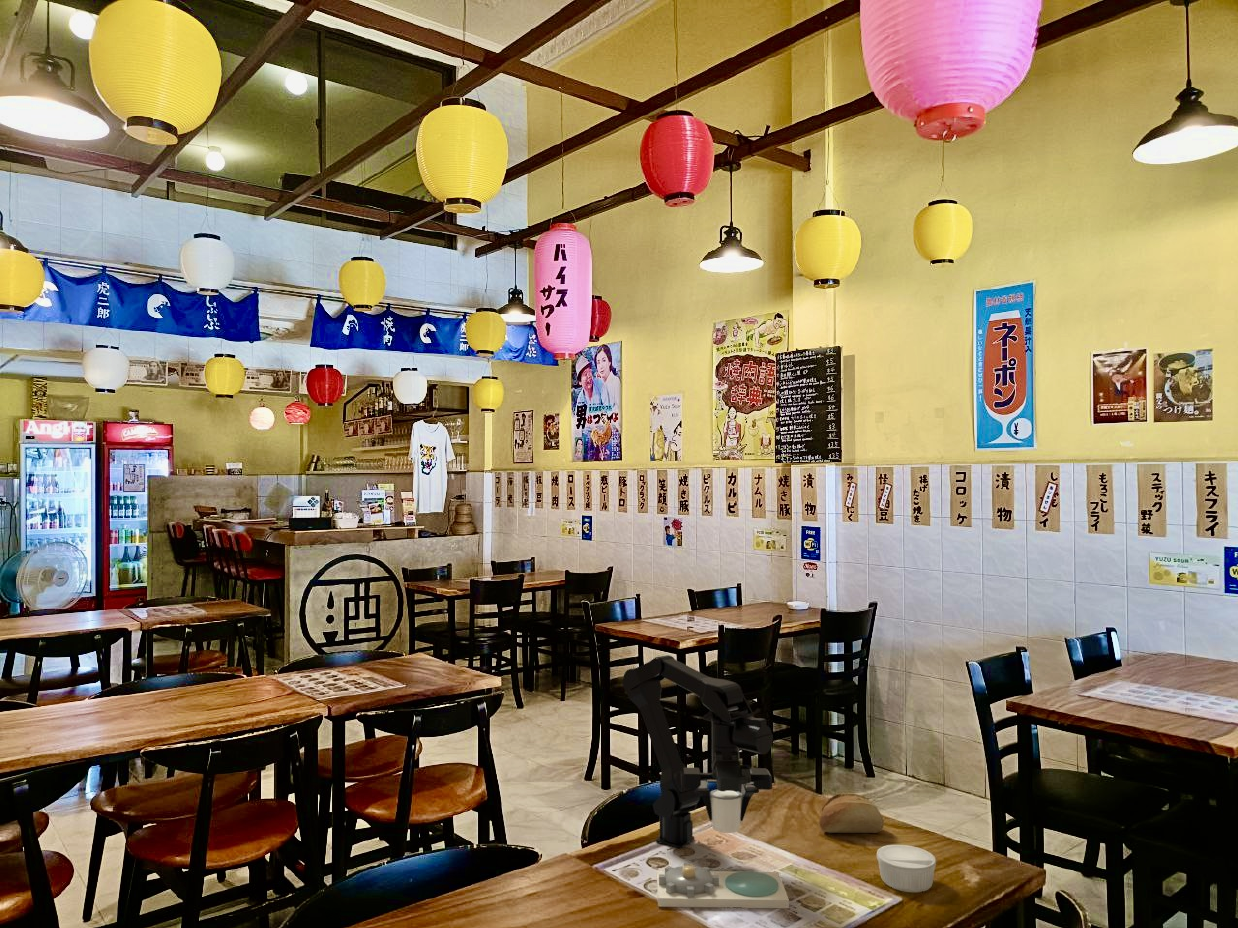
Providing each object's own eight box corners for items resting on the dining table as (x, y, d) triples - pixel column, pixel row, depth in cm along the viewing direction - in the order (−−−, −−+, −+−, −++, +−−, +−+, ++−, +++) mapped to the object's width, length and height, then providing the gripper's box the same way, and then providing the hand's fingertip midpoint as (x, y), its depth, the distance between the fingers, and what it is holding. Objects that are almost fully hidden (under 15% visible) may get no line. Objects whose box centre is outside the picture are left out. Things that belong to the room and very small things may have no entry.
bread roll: (811, 825, 194) (811, 790, 194) (872, 822, 196) (871, 787, 197) (827, 841, 184) (827, 804, 185) (891, 837, 187) (890, 801, 187)
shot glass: (741, 835, 170) (741, 800, 171) (708, 832, 171) (707, 797, 172) (743, 822, 177) (743, 789, 177) (711, 820, 178) (710, 787, 179)
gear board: (658, 906, 153) (658, 881, 153) (656, 878, 165) (656, 854, 165) (789, 908, 153) (788, 882, 153) (778, 879, 165) (777, 856, 165)
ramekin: (907, 900, 156) (907, 871, 156) (864, 877, 166) (864, 850, 166) (949, 888, 161) (949, 860, 162) (905, 866, 171) (904, 840, 172)
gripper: (683, 754, 167) (683, 834, 166) (776, 755, 167) (777, 835, 166) (680, 739, 179) (680, 814, 178) (767, 740, 178) (768, 815, 177)
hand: (725, 820), depth 174 cm, fingers closed on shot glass, 6 cm apart
